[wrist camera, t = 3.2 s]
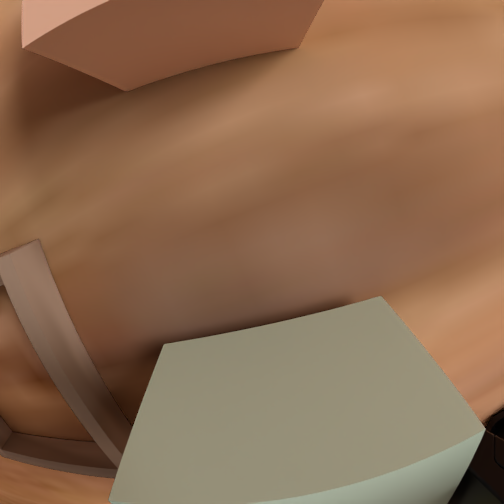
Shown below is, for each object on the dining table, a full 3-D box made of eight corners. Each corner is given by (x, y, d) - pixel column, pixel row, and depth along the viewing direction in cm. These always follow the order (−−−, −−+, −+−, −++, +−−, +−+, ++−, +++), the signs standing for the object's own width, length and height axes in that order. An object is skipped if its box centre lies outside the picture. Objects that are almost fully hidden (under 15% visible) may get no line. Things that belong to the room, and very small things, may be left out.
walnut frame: (150, 453, 11) (143, 480, 9) (12, 439, 11) (2, 456, 10) (38, 238, 8) (9, 253, 7) (-75, 288, 8) (-94, 300, 7)
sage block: (381, 432, 10) (423, 538, 5) (225, 465, 10) (220, 578, 5) (381, 296, 8) (485, 428, 3) (163, 344, 8) (108, 500, 3)
